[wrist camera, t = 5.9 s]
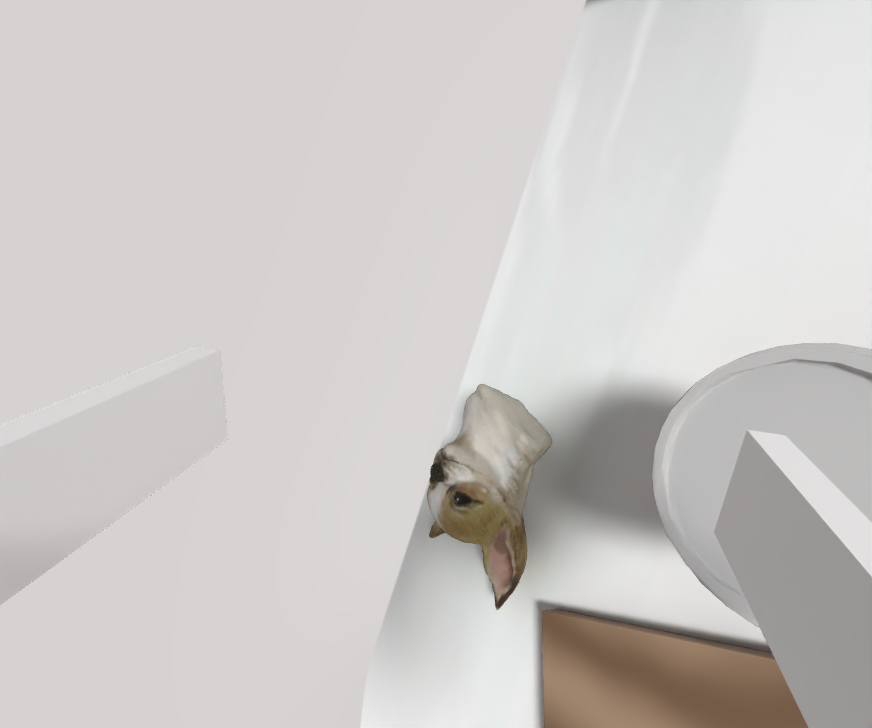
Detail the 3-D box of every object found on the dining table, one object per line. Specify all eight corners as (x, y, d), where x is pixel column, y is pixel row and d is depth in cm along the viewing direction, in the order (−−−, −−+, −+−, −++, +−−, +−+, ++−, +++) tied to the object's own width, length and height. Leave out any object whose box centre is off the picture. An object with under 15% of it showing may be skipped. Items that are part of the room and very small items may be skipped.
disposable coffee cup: (838, 649, 22) (733, 697, 14) (719, 459, 27) (600, 427, 20) (1134, 578, 16) (1196, 600, 9) (910, 362, 22) (842, 272, 15)
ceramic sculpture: (514, 406, 28) (438, 627, 30) (601, 422, 33) (531, 611, 35) (424, 359, 37) (369, 534, 39) (503, 377, 42) (451, 531, 44)
